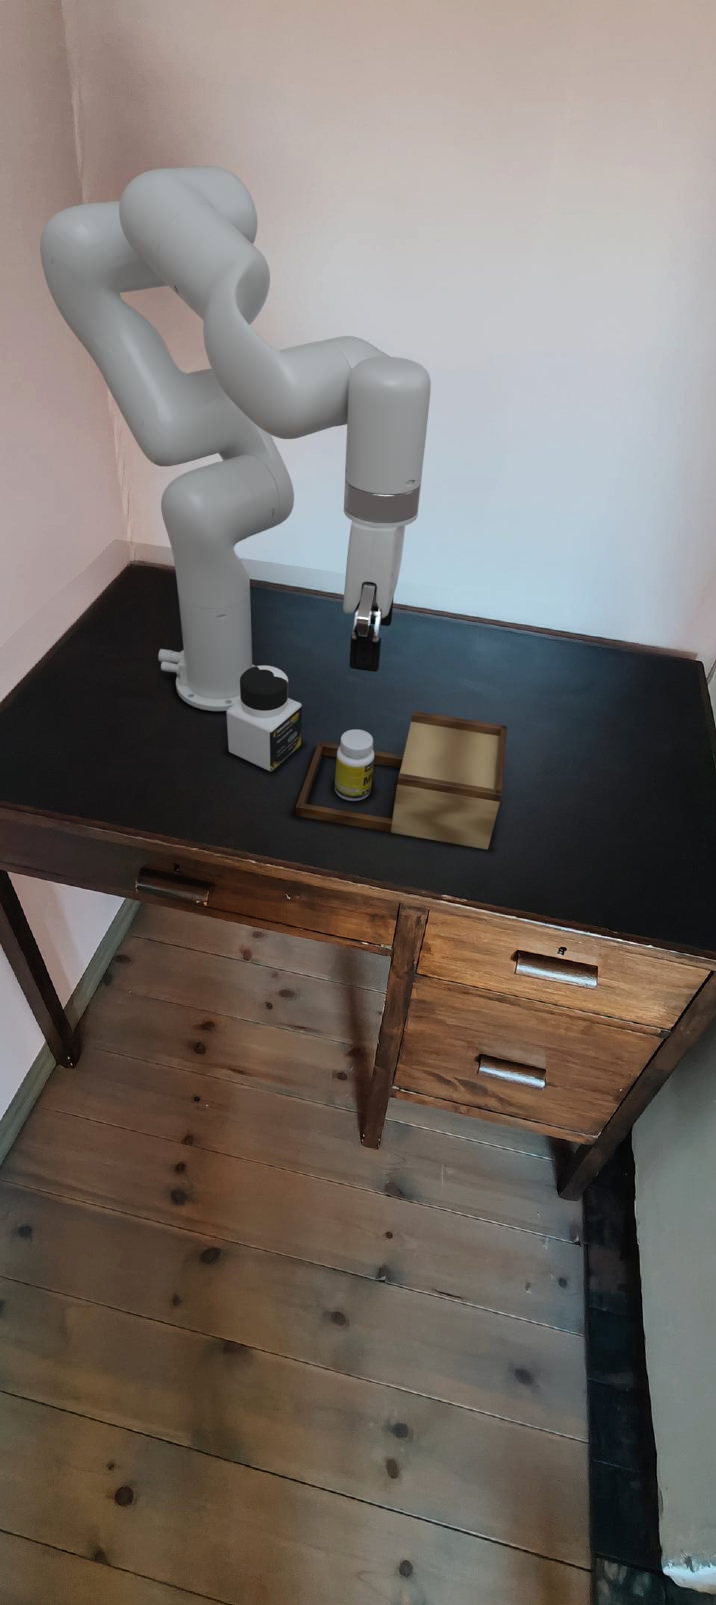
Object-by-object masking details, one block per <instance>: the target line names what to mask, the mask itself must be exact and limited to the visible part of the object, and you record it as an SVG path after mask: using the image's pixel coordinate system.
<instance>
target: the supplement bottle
mask: <svg viewBox="0 0 716 1605" xmlns="http://www.w3.org/2000/svg"><path fill="white" fill-rule="evenodd" d="M339 745H340V747H339V748H338V751H337V757H336V760H335V761H336V762H335V775H334V776H335V777H334V791H335V793H336V795H337V796H338V797H339V798H341V799H343V800H346V801H350V802H358V801H362V800H365V799H366V798H367V797H369V795H370V793H371V790H372V783H373V774H374V765H375V764H374V751H375V750H374V738H373V736H372V735H371V734H370V733H369V732H368V731H366V730H363V729H349V730H346V731H345V732H343V734H341V737H340V744H339Z"/></svg>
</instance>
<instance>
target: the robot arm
mask: <svg viewBox="0 0 716 1605" xmlns="http://www.w3.org/2000/svg"><path fill="white" fill-rule="evenodd" d="M257 214H258V213H257V210H256V206H255V202H254V200H253V197H252V195H251V193H250V191H249V190H248V188H247V186H246V185H245V184H244V183H243V181H242V180H241V178H240V177H238V176H237V175H236V174H235V173H233V172H232V171H231V170H228V169H227V168H224V167H222V166H216V165H215V166H214V165H203V166H186V167H167V168H166V167H165V168H155V169H151V170H148V171H147V170H146V171H145V172H142V173H141V174H140V173H139V175H137V176H136V177H134V178H133V179H132V180H131V181H130V182H129V183H128V184H127V185H126V187H125V188H124V190H123V192H122V194H121V197H120V200H116V201H103V202H101V201H100V202H90V203H83V204H79V205H74V206H71V207H67V208H64V209H62V210H60V211H58V212H56V213H55V214H54V215H52V216H51V217H50V218H49V219H48V220H47V222H46V223H45V224H44V227H43V229H42V231H41V235H40V242H39V244H40V245H39V252H40V260H41V261H40V262H41V266H42V270H43V275H44V278H45V281H46V285H47V288H48V290H49V293H50V295H51V298H52V300H53V302H54V304H55V306H56V308H57V310H58V312H59V313H60V315H61V317H62V318H63V320H64V321H65V323H66V324H67V326H68V327H69V329H70V330H71V332H72V333H73V334H74V336H75V337H76V338H77V340H78V342H80V343H81V344H82V346H83V347H84V349H85V351H86V352H87V353H88V354H89V356H90V358H91V359H92V360H93V362H94V364H95V365H96V366H97V368H98V370H99V372H100V374H101V376H102V377H103V380H104V382H105V384H106V387H107V388H108V391H109V392H110V394H111V395H112V397H113V399H114V402H115V403H116V405H117V407H118V409H119V411H120V413H121V415H122V417H123V419H124V421H125V423H126V425H127V427H128V429H129V431H130V432H131V434H132V436H133V438H134V440H135V442H136V444H137V445H138V447H139V448H140V450H141V452H142V453H143V455H144V456H145V457H146V459H148V461H150V462H151V464H154V465H155V466H157V467H174V466H178V465H182V464H186V463H190V462H192V461H193V462H194V461H196V460H200V459H202V458H205V457H210V456H213V455H216V454H217V455H219V457H220V458H221V459H222V460H221V461H216V462H213V463H210V464H207V465H203V466H200V467H198V468H197V467H196V468H194V469H192V470H191V469H190V470H189V471H186V472H184V473H181V475H178V476H177V477H175V478H174V479H172V480H171V481H170V483H169V484H168V485H167V486H166V487H165V489H164V491H163V493H162V496H161V500H160V510H161V516H162V519H163V524H164V526H165V530H166V533H167V536H168V541H169V543H170V547H171V552H172V557H173V562H174V569H175V578H176V586H177V594H178V595H177V596H178V605H179V614H180V615H179V616H180V626H181V638H182V646H183V647H182V648H183V649H182V650H181V651H174V650H171V649H164V648H160V649H159V651H158V656H157V657H158V659H157V660H158V662H159V663H161V664H160V671H162V672H167V673H175V674H176V678H175V687H176V688H175V689H176V692H177V694H178V696H179V698H181V699H182V701H184V702H185V703H186V704H188V705H190V706H191V707H193V708H197V709H200V710H203V711H209V712H227V710H228V709H229V708H230V707H232V706H233V705H234V704H235V703H237V702H238V701H239V700H240V699H241V698H240V677H241V675H242V674H243V673H244V672H245V671H246V670H248V669H250V668H252V667H255V666H256V665H255V664H253V642H252V608H251V582H250V581H251V580H250V575H249V571H248V568H247V566H246V564H245V563H244V561H243V560H242V559H241V558H240V557H239V556H238V555H237V553H236V551H235V546H236V545H237V544H238V543H240V542H241V541H242V542H243V541H244V540H246V539H248V538H250V537H253V536H255V535H257V534H260V533H262V532H265V531H268V530H270V529H272V528H275V527H277V526H278V525H281V524H282V523H284V522H285V521H286V520H287V519H288V518H289V517H290V516H291V514H292V511H293V509H294V506H295V505H294V504H295V493H294V492H295V491H294V485H293V483H292V479H291V476H290V474H289V470H288V468H287V466H286V464H285V462H284V459H283V457H282V455H281V453H280V451H279V449H278V446H277V445H276V442H275V441H274V439H273V437H274V438H277V439H281V440H296V439H299V438H303V437H306V436H309V435H312V434H315V433H318V432H321V431H325V430H329V429H331V428H334V427H342V426H345V425H346V442H345V444H346V445H345V468H344V492H343V494H344V497H343V498H344V499H343V513H344V515H345V517H347V519H349V520H350V521H351V523H350V524H351V525H350V530H349V536H348V545H347V555H346V556H347V557H346V566H345V579H344V590H343V592H344V593H343V601H342V602H343V604H342V611H343V612H344V613H345V614H346V615H349V614H352V615H353V614H354V617H353V618H354V619H353V624H352V625H353V626H352V632H351V635H350V647H349V662H348V663H349V665H348V666H349V668H350V669H352V670H358V671H366V672H371V673H372V672H373V673H376V672H378V671H379V668H380V660H381V659H380V658H381V647H382V638H381V637H380V632H381V626H383V627H389V626H391V624H392V622H393V621H392V620H393V611H394V610H393V608H394V599H395V598H394V597H395V593H396V589H397V585H398V581H399V577H400V571H401V566H402V558H403V551H404V541H405V531H406V526H408V525H410V524H412V523H413V522H415V521H416V520H417V519H418V517H419V507H420V497H421V488H422V478H423V469H424V458H425V451H426V450H425V448H426V440H427V431H428V430H427V429H428V421H429V411H430V402H431V388H432V381H431V377H430V373H429V372H428V370H427V369H426V368H425V367H424V366H423V365H422V364H421V363H419V362H416V361H414V360H411V359H408V358H404V357H399V356H390V355H389V354H387V353H386V352H384V351H382V350H381V349H379V348H378V347H377V346H375V345H373V344H372V343H371V342H369V341H367V340H365V339H362V338H360V337H358V336H354V335H353V336H352V335H342V336H336V337H331V338H328V339H323V340H318V341H312V342H308V343H304V344H303V343H302V344H299V345H295V346H291V347H290V346H289V347H287V348H286V347H285V348H283V349H277V348H275V347H274V346H272V345H271V344H269V342H268V341H266V340H265V339H264V338H263V336H261V335H260V334H259V333H258V332H257V331H256V330H255V329H254V328H253V327H252V326H251V325H252V324H253V323H254V321H255V320H256V319H257V317H258V316H259V314H260V313H261V311H262V310H263V308H264V305H265V303H266V301H267V299H268V295H269V291H270V286H271V272H270V267H269V263H268V262H267V259H266V257H265V255H264V254H263V252H261V250H259V248H257V247H256V246H255V245H254V244H255V241H256V238H257V235H258V234H257V233H258V216H257ZM162 287H169V288H170V289H171V290H172V291H173V292H174V293H175V294H176V295H177V296H178V297H179V298H180V299H181V300H182V301H183V302H184V303H185V304H186V305H187V306H188V307H189V308H190V309H191V311H192V312H194V313H195V314H196V315H197V316H198V317H199V318H200V320H202V321H203V324H202V325H203V326H202V332H203V333H202V335H203V344H204V348H205V353H206V358H207V360H208V363H209V366H210V368H205V369H200V370H196V371H191V372H185V371H182V369H180V367H179V366H178V364H177V363H176V361H175V359H174V358H173V356H172V354H171V352H170V349H169V348H168V345H167V343H166V341H165V340H164V338H163V336H162V335H161V333H160V332H159V330H158V329H157V328H156V327H155V326H154V324H153V323H152V322H150V321H149V319H147V318H146V317H145V316H144V315H143V314H142V313H140V312H139V311H138V310H137V309H135V307H133V306H131V304H129V303H127V302H125V301H124V300H123V298H122V296H121V294H122V293H128V292H135V291H136V292H137V291H138V292H139V291H142V290H149V289H155V288H162ZM373 625H374V626H373Z"/></svg>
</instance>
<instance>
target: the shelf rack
mask: <svg viewBox="0 0 716 1605" xmlns="http://www.w3.org/2000/svg"><path fill="white" fill-rule="evenodd" d="M507 734H508V726H507V725H504V724H503V725H502V724H497V723H491V722H484V721H477V720H474V719H473V720H472V719H466V718H462V717H461V718H460V717H454V716H447V715H443V714H435V713H429V712H424V711H417V710H412V714H411V719H410V724H409V730H408V733H407V738H406V743H405V747H404V752H403V755H401V754H395V753H389V752H383V751H377V750H373V751H374V765H379V766H385V767H391V768H396V769H399V773H398V776H397V782H396V784H397V785H396V789H395V790H396V792H395V797H394V805H393V812H392V818H388V817H382V816H377V815H372V814H365V813H360V812H353V811H349V810H343V809H338V808H337V809H336V808H331V807H325V806H320V805H314V804H308V800H309V796H310V794H311V791H312V788H313V786H314V782H315V779H316V777H317V773H318V770H319V767H320V764H321V761H322V758H323V756H327V757H333V758H337V751H338V748H339V747H340V744H335V743H329V742H324V741H318V742H317V744H316V747H315V751H314V753H313V756H312V759H311V762H310V764H309V768H308V771H307V774H306V777H305V779H304V782H303V785H302V788H301V791H300V794H299V797H298V800H297V802H296V805H295V816H297V817H300V818H307V819H313V820H319V821H323V822H324V821H325V822H330V823H334V824H341V825H347V826H353V827H357V828H363V829H370V830H373V831H380V832H386V833H392V834H398V835H403V836H409V837H415V838H420V839H426V840H430V841H431V840H432V841H436V842H442V843H447V844H454V845H460V846H466V847H470V848H477V849H482V850H489V846H490V843H491V838H492V834H493V830H494V827H495V822H496V819H497V815H498V811H499V807H500V802H501V800H502V794H503V783H504V772H505V771H504V769H505V761H506V760H505V759H506V747H507V736H508V735H507Z"/></svg>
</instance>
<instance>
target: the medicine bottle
mask: <svg viewBox="0 0 716 1605" xmlns="http://www.w3.org/2000/svg"><path fill="white" fill-rule="evenodd" d="M240 698H241V699H240V700H239V701H238V702H237V703H235V704H234V705H233V706H232V707H230V708H229V709H228V710H227V711H226V726H227V727H226V729H227V744H228V752H229V753H230V754H232V755H234V756H237V757H238V758H241V759H243V760H245V761H247V762H249V763H251V764H254V765H256V766H258V767H260V768H262V769H264V770H266V771H268V772H273V771H274V770H275V769H276V768H277V767H278V766H280V764H281V763H283V762H284V761H285V760H286V759H287V758H289V756H290V755H291V754H293V753H294V752H295V751H296V750H297V749H298V748H299V747H300V746H301V744H302V717H303V716H302V715H303V714H302V712H303V711H302V710H303V709H302V708H303V705H302V703H301V702H299V701H296V700H294V699H292V698H290V697H289V678H288V676H287V674H286V673H285V672H284V671H283V670H281V669H280V668H278V667H275V666H271V665H255V667H252V668H250V669H248V670H246V671H245V672H244V673H243V674H242V675H241V677H240Z"/></svg>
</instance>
